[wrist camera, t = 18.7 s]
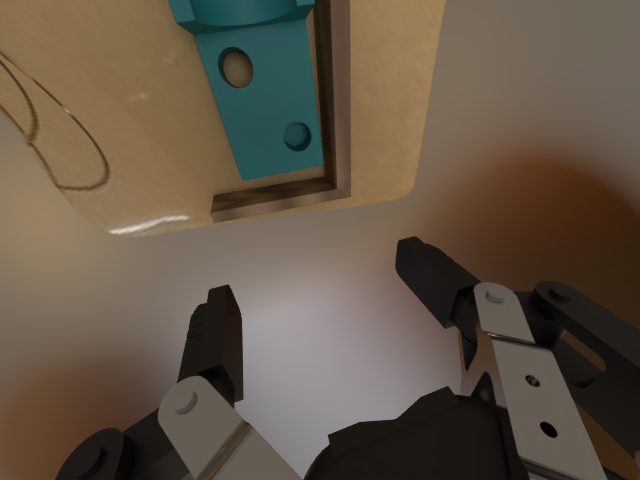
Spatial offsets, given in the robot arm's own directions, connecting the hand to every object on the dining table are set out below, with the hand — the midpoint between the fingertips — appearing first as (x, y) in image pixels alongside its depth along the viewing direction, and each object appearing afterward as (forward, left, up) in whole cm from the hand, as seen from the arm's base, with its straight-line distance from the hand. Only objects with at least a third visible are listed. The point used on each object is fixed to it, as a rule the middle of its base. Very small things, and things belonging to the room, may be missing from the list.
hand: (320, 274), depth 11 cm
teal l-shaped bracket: (+2, +7, -28) cm, 29 cm away
